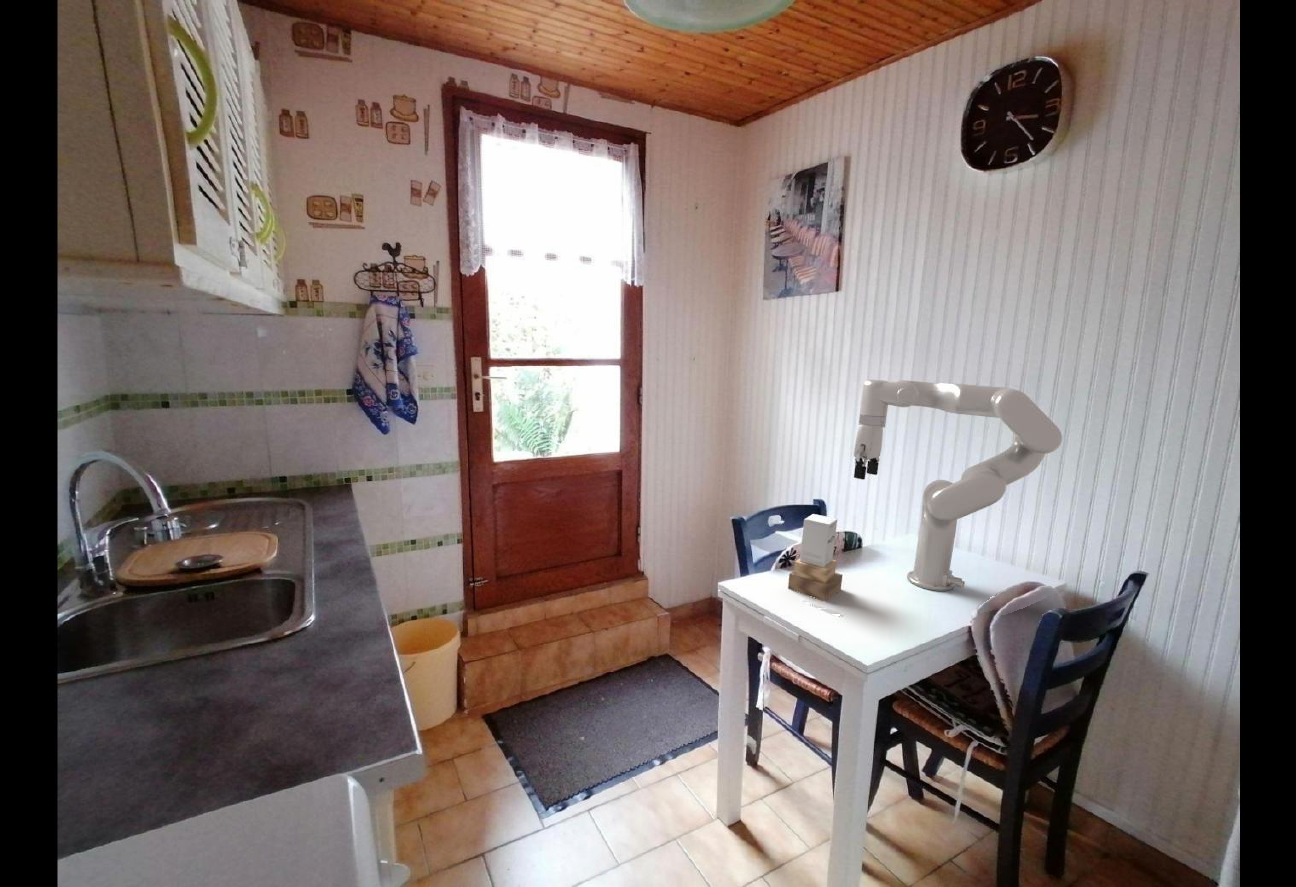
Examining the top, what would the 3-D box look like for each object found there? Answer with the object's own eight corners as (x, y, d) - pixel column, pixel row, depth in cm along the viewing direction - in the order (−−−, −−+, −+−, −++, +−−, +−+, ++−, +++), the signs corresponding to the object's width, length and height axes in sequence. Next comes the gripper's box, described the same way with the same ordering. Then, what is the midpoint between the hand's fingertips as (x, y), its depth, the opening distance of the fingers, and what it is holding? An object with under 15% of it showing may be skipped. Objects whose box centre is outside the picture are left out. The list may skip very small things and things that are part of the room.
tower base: (840, 591, 161) (842, 574, 160) (824, 603, 153) (826, 585, 152) (805, 579, 169) (806, 563, 168) (787, 590, 160) (789, 573, 159)
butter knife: (840, 618, 144) (844, 614, 146) (759, 587, 160) (764, 584, 162) (840, 619, 144) (844, 615, 146) (759, 589, 160) (764, 586, 162)
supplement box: (824, 568, 154) (829, 524, 152) (798, 561, 158) (803, 518, 156) (833, 560, 160) (838, 518, 158) (808, 554, 164) (812, 512, 162)
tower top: (834, 573, 161) (836, 560, 160) (825, 583, 154) (826, 570, 153) (804, 565, 166) (805, 552, 165) (793, 575, 159) (794, 561, 158)
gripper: (870, 417, 177) (864, 470, 180) (848, 421, 164) (841, 478, 168) (895, 420, 172) (888, 474, 175) (873, 424, 160) (866, 483, 163)
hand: (865, 476), depth 171 cm, fingers open, 9 cm apart
